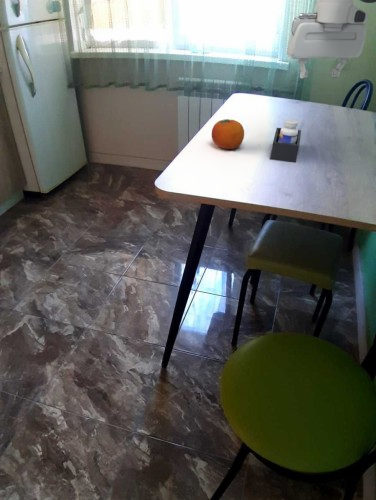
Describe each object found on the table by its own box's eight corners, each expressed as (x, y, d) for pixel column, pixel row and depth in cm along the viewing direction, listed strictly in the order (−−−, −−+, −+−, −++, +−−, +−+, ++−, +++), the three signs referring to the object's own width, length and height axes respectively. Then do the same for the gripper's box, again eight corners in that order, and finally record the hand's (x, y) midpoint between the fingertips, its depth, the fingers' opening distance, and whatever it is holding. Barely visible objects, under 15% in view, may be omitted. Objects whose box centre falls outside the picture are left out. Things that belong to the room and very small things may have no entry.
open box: (297, 146, 139) (301, 130, 136) (295, 162, 128) (299, 145, 125) (273, 143, 141) (276, 127, 137) (269, 159, 130) (272, 142, 126)
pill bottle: (272, 153, 131) (278, 120, 125) (283, 149, 134) (289, 117, 127) (286, 158, 128) (292, 124, 122) (296, 154, 131) (303, 121, 124)
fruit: (246, 145, 138) (249, 119, 133) (237, 155, 131) (240, 128, 126) (216, 139, 141) (218, 114, 135) (206, 149, 134) (208, 122, 128)
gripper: (299, 14, 98) (288, 81, 107) (375, 14, 102) (358, 79, 111) (288, 11, 102) (279, 76, 111) (361, 11, 106) (346, 74, 115)
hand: (319, 77), depth 111 cm, fingers open, 8 cm apart
